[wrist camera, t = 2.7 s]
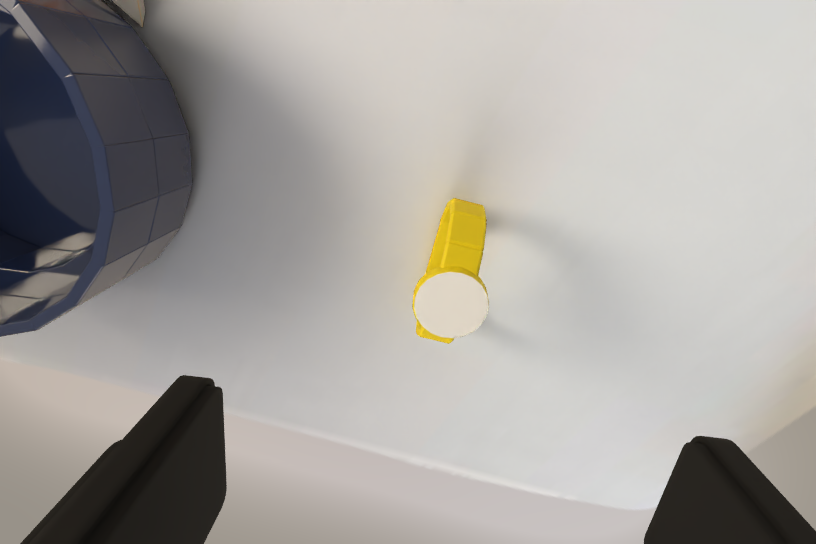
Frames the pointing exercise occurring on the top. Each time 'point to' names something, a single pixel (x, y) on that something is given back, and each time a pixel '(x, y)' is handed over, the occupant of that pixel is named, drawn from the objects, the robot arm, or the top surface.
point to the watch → (453, 276)
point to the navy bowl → (81, 157)
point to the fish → (133, 9)
